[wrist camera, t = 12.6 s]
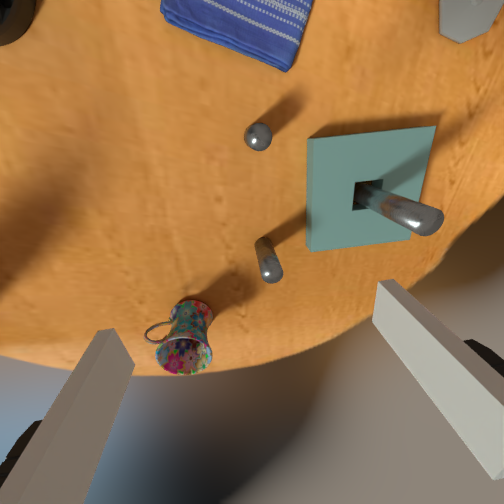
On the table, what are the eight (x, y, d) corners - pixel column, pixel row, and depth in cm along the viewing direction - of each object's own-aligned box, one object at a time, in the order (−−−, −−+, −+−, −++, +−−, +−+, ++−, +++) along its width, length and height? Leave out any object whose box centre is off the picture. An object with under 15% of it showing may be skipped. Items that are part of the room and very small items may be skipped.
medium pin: (253, 238, 42) (260, 266, 33) (271, 236, 42) (282, 263, 34) (255, 254, 44) (262, 284, 35) (272, 252, 44) (283, 281, 35)
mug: (221, 303, 48) (220, 344, 39) (206, 334, 52) (201, 379, 42) (163, 286, 45) (146, 326, 36) (150, 320, 48) (132, 365, 39)
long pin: (349, 183, 39) (419, 210, 25) (368, 181, 40) (447, 207, 25) (347, 201, 41) (412, 237, 27) (365, 199, 41) (439, 234, 27)
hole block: (307, 138, 36) (313, 139, 33) (420, 126, 36) (436, 125, 34) (305, 244, 44) (310, 252, 41) (398, 233, 45) (409, 239, 42)
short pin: (242, 125, 34) (245, 124, 29) (264, 123, 34) (271, 121, 29) (245, 149, 36) (248, 152, 30) (266, 147, 36) (272, 149, 30)
